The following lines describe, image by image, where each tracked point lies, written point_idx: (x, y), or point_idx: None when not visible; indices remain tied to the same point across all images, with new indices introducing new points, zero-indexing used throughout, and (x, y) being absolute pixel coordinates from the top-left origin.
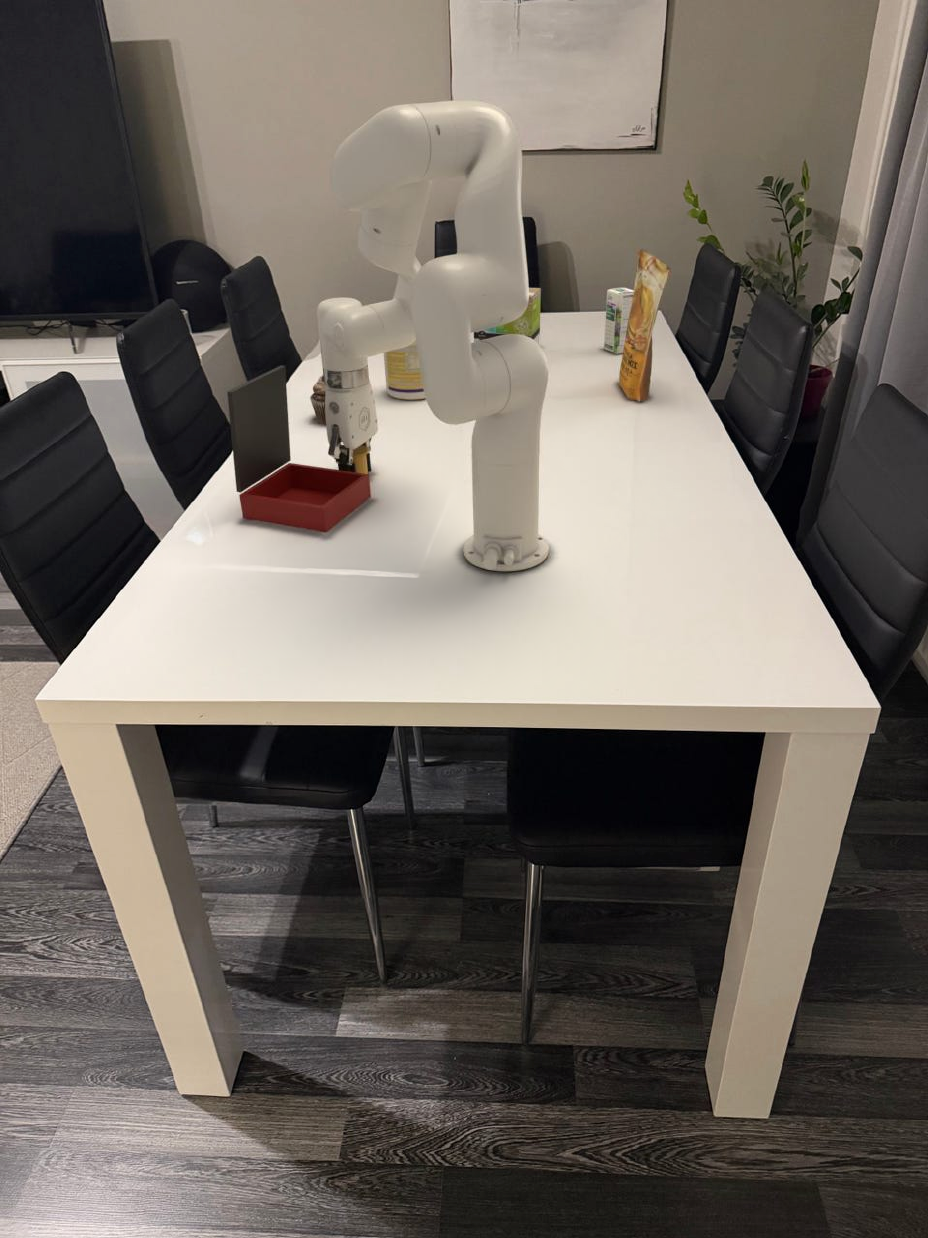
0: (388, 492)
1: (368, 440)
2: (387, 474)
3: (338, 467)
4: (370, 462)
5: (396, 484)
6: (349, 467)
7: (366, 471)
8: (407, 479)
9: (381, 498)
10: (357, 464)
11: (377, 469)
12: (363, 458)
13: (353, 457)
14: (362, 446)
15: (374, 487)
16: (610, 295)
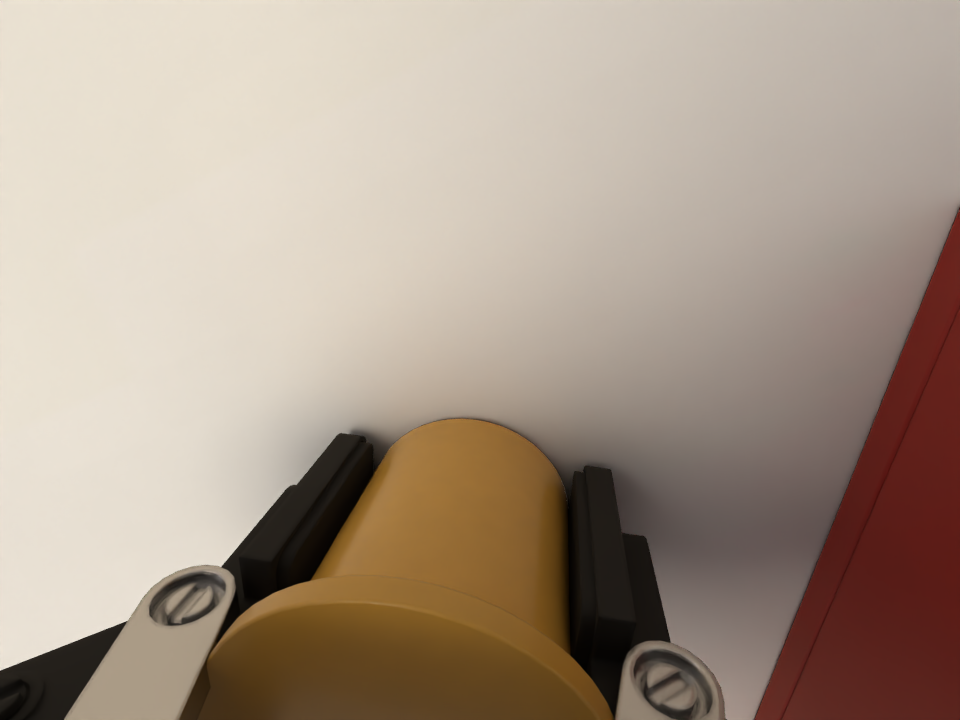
0: (698, 110)
1: (101, 707)
2: (293, 303)
3: None
4: (297, 485)
5: (475, 117)
6: (638, 630)
7: (452, 459)
8: (323, 55)
9: (879, 116)
10: (541, 581)
11: (240, 416)
12: (455, 574)
13: (605, 703)
14: (245, 698)
15: (596, 304)
16: None
